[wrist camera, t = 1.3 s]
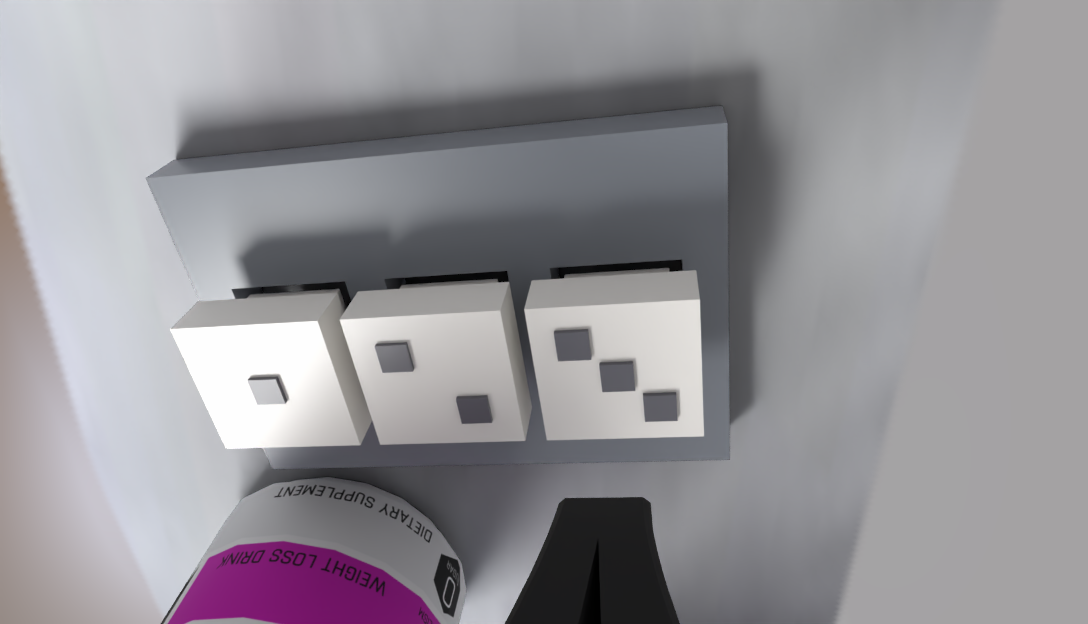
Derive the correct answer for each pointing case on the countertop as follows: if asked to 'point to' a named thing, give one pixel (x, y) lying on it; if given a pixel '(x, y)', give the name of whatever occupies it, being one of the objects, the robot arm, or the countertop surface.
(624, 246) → the keypad
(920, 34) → the countertop surface
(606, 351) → the tile three
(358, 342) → the tile two
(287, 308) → the tile one
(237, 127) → the countertop surface
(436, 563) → the supplement can
